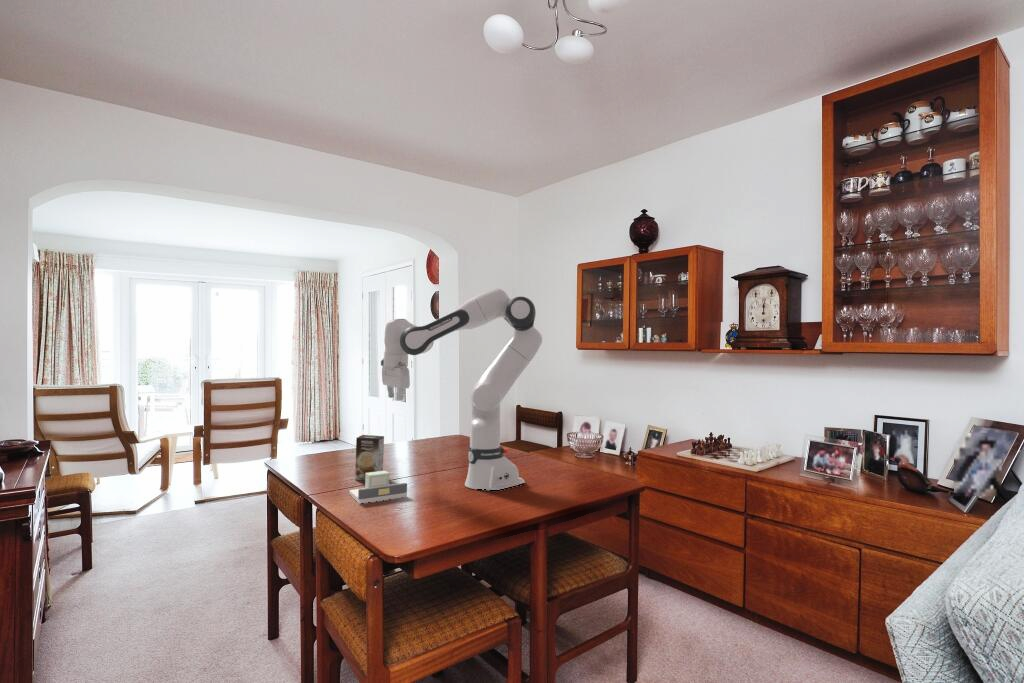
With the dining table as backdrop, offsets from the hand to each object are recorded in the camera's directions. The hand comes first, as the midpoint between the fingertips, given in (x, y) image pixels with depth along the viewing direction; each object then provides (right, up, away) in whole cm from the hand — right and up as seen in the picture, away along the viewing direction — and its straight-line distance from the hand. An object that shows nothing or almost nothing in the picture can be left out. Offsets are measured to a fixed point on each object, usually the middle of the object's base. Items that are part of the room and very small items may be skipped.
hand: (395, 398), depth 191 cm
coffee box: (-11, -31, +3) cm, 33 cm away
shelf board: (-2, -31, -18) cm, 36 cm away
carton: (-2, -29, -18) cm, 34 cm away
